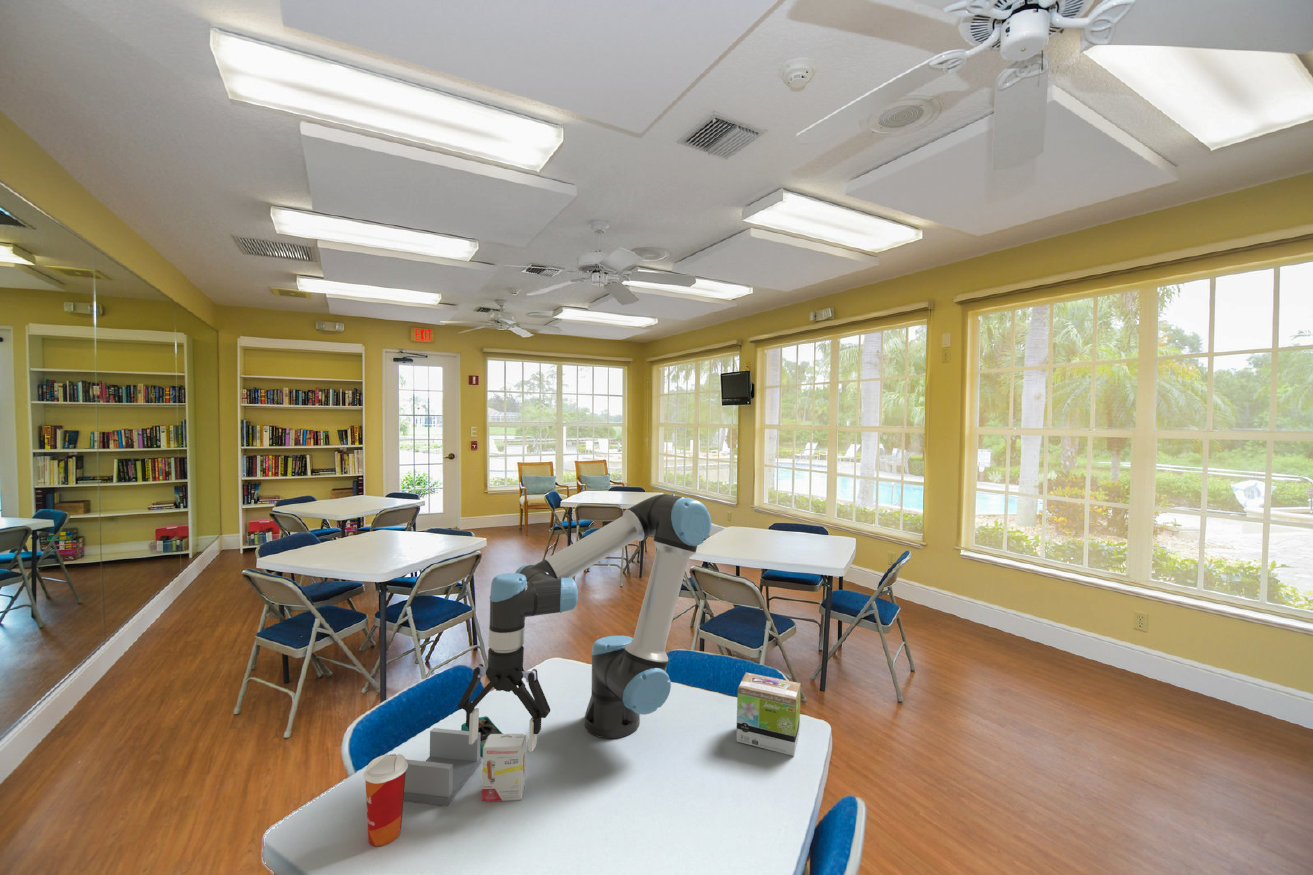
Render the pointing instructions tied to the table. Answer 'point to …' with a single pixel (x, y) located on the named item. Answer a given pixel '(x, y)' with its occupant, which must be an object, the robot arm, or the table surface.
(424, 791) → the dock
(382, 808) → the paper cup
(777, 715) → the tea box
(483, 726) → the digital multimeter
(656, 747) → the table surface
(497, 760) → the ink box
